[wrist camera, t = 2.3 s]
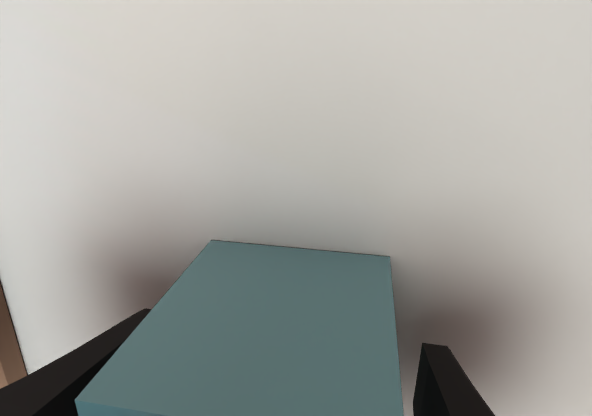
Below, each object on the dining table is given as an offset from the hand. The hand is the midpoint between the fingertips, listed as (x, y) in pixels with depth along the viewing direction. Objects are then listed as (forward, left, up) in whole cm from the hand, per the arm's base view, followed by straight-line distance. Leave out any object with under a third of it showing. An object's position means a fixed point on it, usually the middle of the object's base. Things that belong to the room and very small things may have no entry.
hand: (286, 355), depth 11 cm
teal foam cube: (0, 0, -2) cm, 2 cm away
